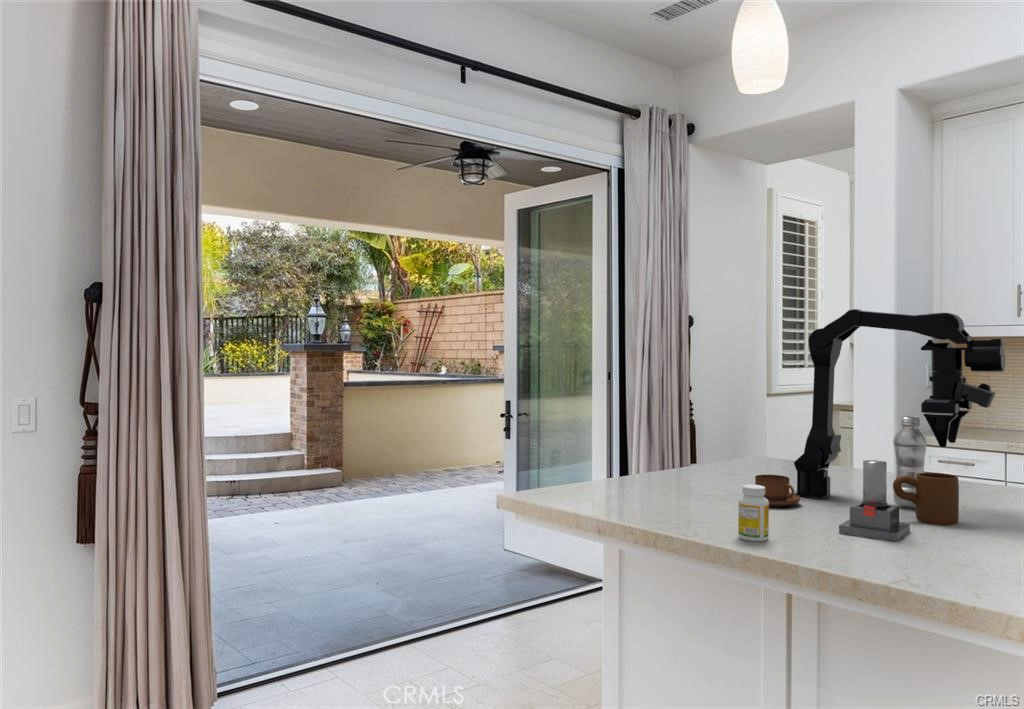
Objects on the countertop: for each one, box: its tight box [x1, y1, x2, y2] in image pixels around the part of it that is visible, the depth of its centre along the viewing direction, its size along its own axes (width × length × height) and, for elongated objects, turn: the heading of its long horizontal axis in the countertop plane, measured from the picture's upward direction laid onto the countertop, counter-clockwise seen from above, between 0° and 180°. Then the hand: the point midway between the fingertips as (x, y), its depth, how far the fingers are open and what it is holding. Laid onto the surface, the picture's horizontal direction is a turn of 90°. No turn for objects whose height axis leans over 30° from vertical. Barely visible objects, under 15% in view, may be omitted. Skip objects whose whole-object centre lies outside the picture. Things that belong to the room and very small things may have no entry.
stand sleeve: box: [838, 500, 911, 543], centre depth 142 cm, size 10×10×6 cm
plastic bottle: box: [892, 415, 928, 509], centre depth 164 cm, size 6×7×20 cm
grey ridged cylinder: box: [861, 459, 888, 510], centre depth 142 cm, size 4×4×12 cm
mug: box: [892, 472, 960, 526], centre depth 151 cm, size 12×8×9 cm, turn 77°
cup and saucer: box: [754, 474, 801, 508], centre depth 169 cm, size 12×12×6 cm
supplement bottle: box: [737, 484, 770, 542], centre depth 138 cm, size 5×5×10 cm
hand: (947, 444), depth 159 cm, fingers open, 9 cm apart
